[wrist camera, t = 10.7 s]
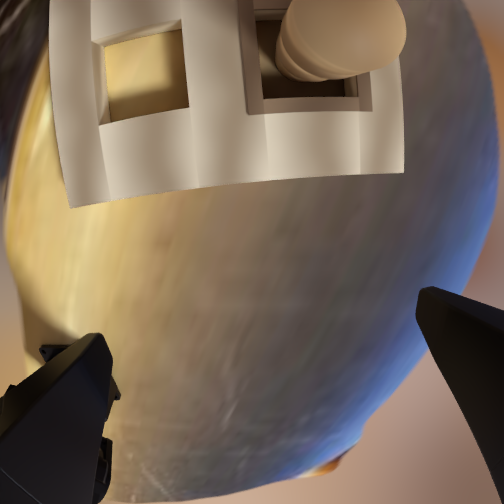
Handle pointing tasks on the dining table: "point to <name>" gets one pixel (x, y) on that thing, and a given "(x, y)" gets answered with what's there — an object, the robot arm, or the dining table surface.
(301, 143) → the board
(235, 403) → the dining table surface
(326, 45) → the peg
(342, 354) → the dining table surface
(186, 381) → the dining table surface
